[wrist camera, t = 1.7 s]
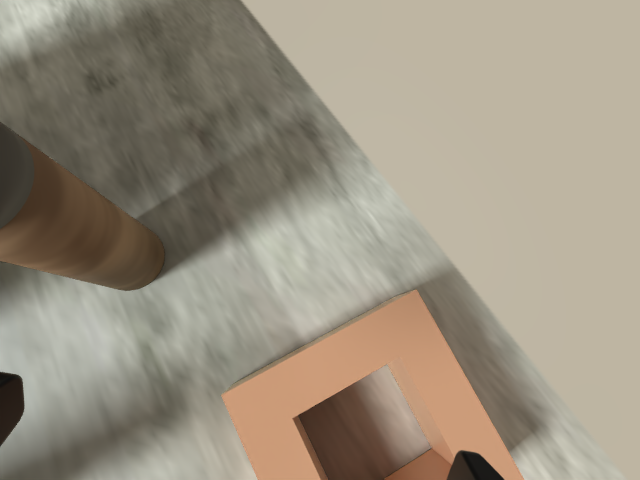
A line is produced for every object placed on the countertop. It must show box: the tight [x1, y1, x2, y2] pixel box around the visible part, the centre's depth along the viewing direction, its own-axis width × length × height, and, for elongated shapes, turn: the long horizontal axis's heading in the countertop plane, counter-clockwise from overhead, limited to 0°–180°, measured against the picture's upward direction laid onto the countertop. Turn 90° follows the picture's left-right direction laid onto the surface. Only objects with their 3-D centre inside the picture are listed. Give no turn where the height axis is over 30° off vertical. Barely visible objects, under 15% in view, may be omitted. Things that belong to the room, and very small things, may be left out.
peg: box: [0, 122, 165, 291], centre depth 16 cm, size 4×4×13 cm
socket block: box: [221, 289, 524, 480], centre depth 19 cm, size 11×11×4 cm
